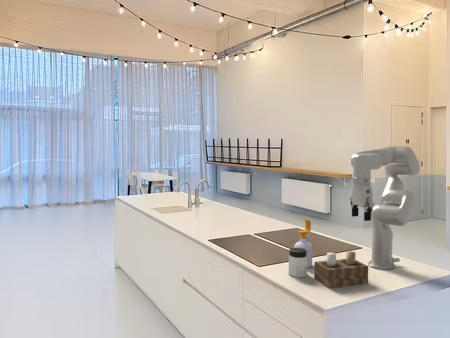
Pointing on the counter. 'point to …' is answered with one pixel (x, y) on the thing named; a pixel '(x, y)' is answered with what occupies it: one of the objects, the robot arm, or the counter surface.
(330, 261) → the white peg
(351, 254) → the oak peg
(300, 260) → the jar
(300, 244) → the soap bottle
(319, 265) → the walnut block
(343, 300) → the counter surface
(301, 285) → the counter surface
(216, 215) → the counter surface
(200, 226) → the counter surface
